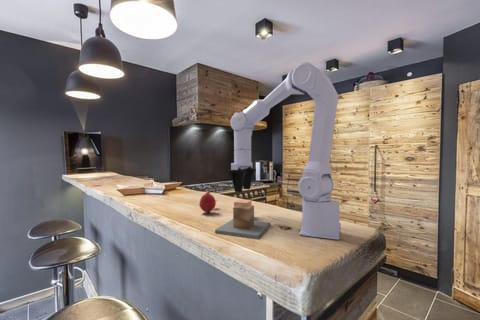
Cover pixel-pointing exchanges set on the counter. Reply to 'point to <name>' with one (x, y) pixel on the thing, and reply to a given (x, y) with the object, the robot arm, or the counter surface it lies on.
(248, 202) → the terracotta block
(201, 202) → the onion
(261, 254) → the counter surface
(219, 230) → the slate board
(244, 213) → the walnut block
